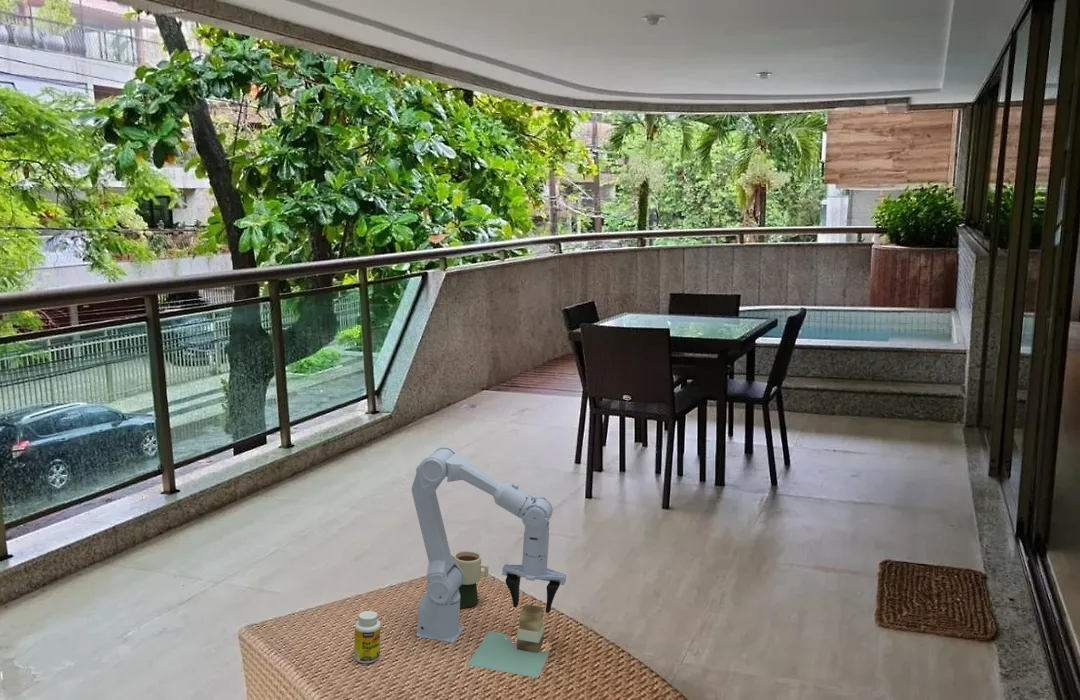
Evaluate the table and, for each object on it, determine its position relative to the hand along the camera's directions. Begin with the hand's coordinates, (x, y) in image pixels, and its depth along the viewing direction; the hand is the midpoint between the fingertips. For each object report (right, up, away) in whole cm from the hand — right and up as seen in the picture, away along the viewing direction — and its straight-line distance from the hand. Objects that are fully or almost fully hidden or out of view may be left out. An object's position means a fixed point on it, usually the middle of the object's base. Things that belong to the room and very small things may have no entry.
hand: (532, 608), depth 193 cm
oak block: (0, -4, +1) cm, 4 cm away
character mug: (-17, -6, +21) cm, 28 cm away
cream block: (0, -7, +1) cm, 7 cm away
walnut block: (-1, -9, +1) cm, 9 cm away
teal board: (-5, -10, -2) cm, 11 cm away
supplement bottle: (-37, -9, -7) cm, 38 cm away
